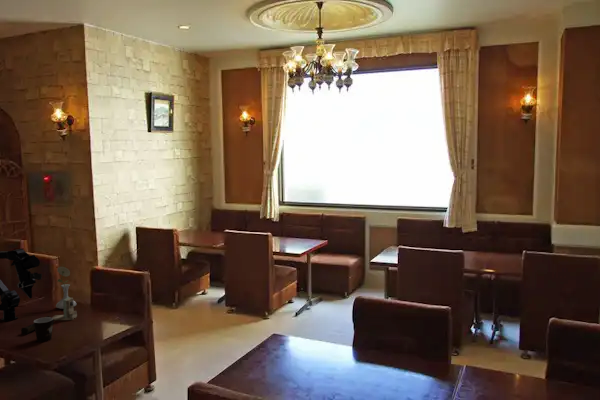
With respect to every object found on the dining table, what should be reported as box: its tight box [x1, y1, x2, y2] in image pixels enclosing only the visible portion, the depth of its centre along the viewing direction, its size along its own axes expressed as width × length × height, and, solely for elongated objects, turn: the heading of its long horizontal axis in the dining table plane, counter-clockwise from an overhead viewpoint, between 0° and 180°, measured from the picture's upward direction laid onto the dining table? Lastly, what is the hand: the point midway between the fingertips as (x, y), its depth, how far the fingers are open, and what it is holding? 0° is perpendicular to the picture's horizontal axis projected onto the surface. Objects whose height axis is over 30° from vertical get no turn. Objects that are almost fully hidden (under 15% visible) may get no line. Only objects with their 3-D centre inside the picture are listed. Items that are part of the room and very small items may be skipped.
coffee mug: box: [33, 316, 55, 343], centre depth 249 cm, size 12×9×10 cm
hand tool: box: [20, 316, 50, 336], centre depth 264 cm, size 19×4×5 cm, turn 163°
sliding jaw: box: [63, 296, 71, 318], centre depth 281 cm, size 2×6×10 cm, turn 3°
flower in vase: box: [55, 266, 77, 310], centre depth 301 cm, size 13×11×25 cm
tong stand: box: [51, 297, 78, 321], centre depth 281 cm, size 12×6×11 cm, turn 93°
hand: (30, 298), depth 275 cm, fingers closed
